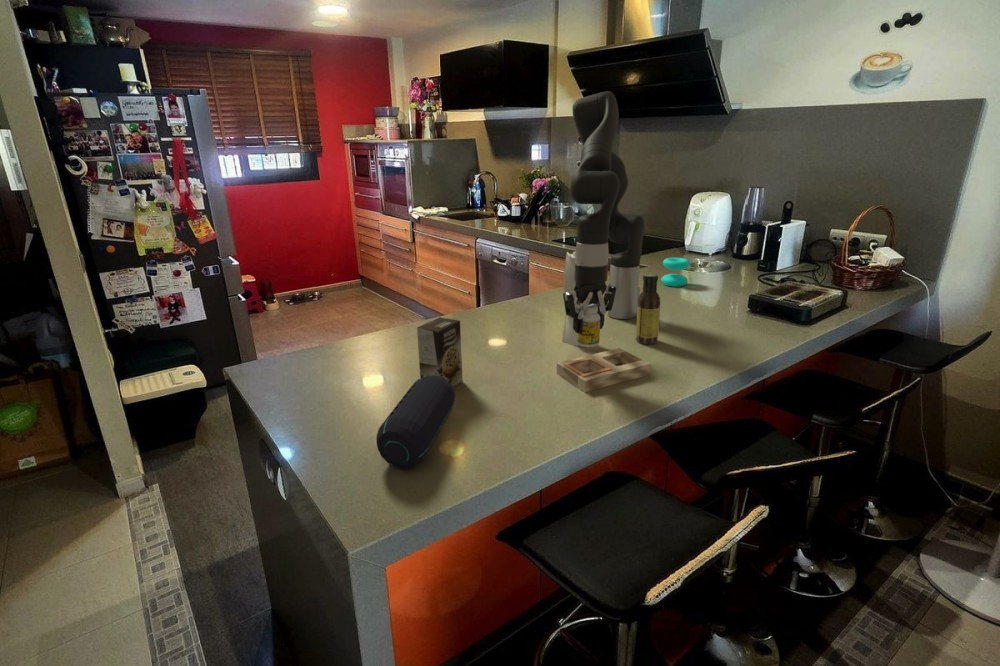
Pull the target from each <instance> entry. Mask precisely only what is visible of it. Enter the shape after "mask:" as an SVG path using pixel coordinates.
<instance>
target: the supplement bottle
mask: <svg viewBox="0 0 1000 666" xmlns="http://www.w3.org/2000/svg"><path fill="white" fill-rule="evenodd" d="M597 311H598V306H597V305H595V304H590V305H588V307H587V309H586V310H585V311H584V313H583V316H582V319H583V322H582V333H580V334H578V333H577V343H578V344H579V345H578V346H581V347H584V348H585V347H586V348H591V347H593V348H595V347H597V346H598V345H599V344H600V333H601V329H600V315H599V314H598V313H597Z"/></svg>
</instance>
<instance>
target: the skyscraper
mask: <svg viewBox="0 0 1000 666" xmlns="http://www.w3.org/2000/svg"><path fill="white" fill-rule="evenodd" d="M574 277H575V251H573V252H572V253H570V252H568V251H567V252H566V255H565V259H564V270H563V285H562V286H563V293H564V292H571V291H573V290H574V288H575V285H576V283H575V279H574ZM576 298H577V297H576V296H575V300H574V304H575V301H576ZM580 305H583V304H582V303H580ZM578 312H579V311H578ZM561 338H562V339H561V341H562V343H563V342H564V343H565V344H566V343H567V344H570V345H572V346H573V345H574V346H577V347H578V346H580V345H579V344H578V343H577V333H576V332H575V330H573V318H572V317H570V316H568V315H566V314H565V319H564V325H563V332H562V337H561Z"/></svg>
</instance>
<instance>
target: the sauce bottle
mask: <svg viewBox="0 0 1000 666" xmlns="http://www.w3.org/2000/svg"><path fill="white" fill-rule="evenodd" d="M658 279H659V274H657V273H652V272H649V273H643V275H642V281H643V283H642V284H643V285H642V291H641V292H640V296H639V298H638V307H637V316H636V328H635V329H636V330H635V334H636V335H635V336H636V337H635V340H636V342H638V343H639V344H643V345H652V344H655V343H657V342H658V337H659V328H660V316H661V315H660V313H661V312H660V311H661V297H660V295H659V293H658V291H657V289H658V287H657V286H658V281H659V280H658Z"/></svg>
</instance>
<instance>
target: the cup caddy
mask: <svg viewBox="0 0 1000 666" xmlns="http://www.w3.org/2000/svg"><path fill="white" fill-rule="evenodd" d="M618 364H621V365H618ZM650 373H651V363H650V362H648V361H646V360H645V359H642V358H640V357H638V356H636V355H634V354H632V353H630V352H629V351H626V350H624V349H622V348H620V347H617V348H614V349H609V350H605V351H601V352H597V353H592V354H589V355H584V356H579V357H576V358H571V359H567V360H563V361H559V362H556V375H558V376H559V377H561V378H562V379H564V380H565V381H567V382H568V383H570V384H571V385H573V386H574V387H575V388H577V389H579V390H580V391H582V392H583V393H588V392H591V391H594V390H598V389H602V388H605V387H609V386H613V385H616V384H621V383H623V382H627V381H630V380H631V381H632V380H635V379H638V378H642V377H646V376H649V375H650Z"/></svg>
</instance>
